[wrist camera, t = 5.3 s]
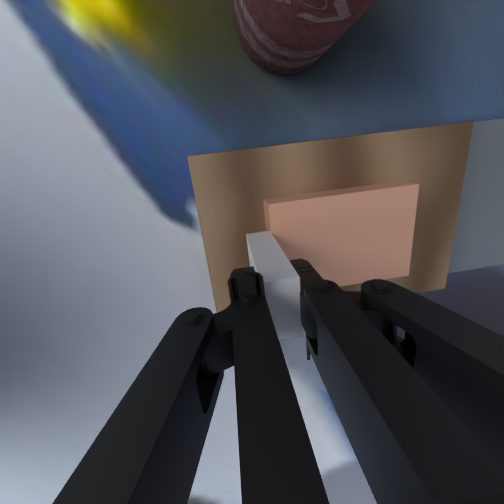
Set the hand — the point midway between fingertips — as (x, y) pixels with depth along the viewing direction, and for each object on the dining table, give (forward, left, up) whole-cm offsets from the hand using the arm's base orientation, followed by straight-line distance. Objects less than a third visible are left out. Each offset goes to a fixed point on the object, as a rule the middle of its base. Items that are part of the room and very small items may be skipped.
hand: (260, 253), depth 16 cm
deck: (+6, 0, -4) cm, 7 cm away
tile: (+5, 0, -2) cm, 5 cm away
